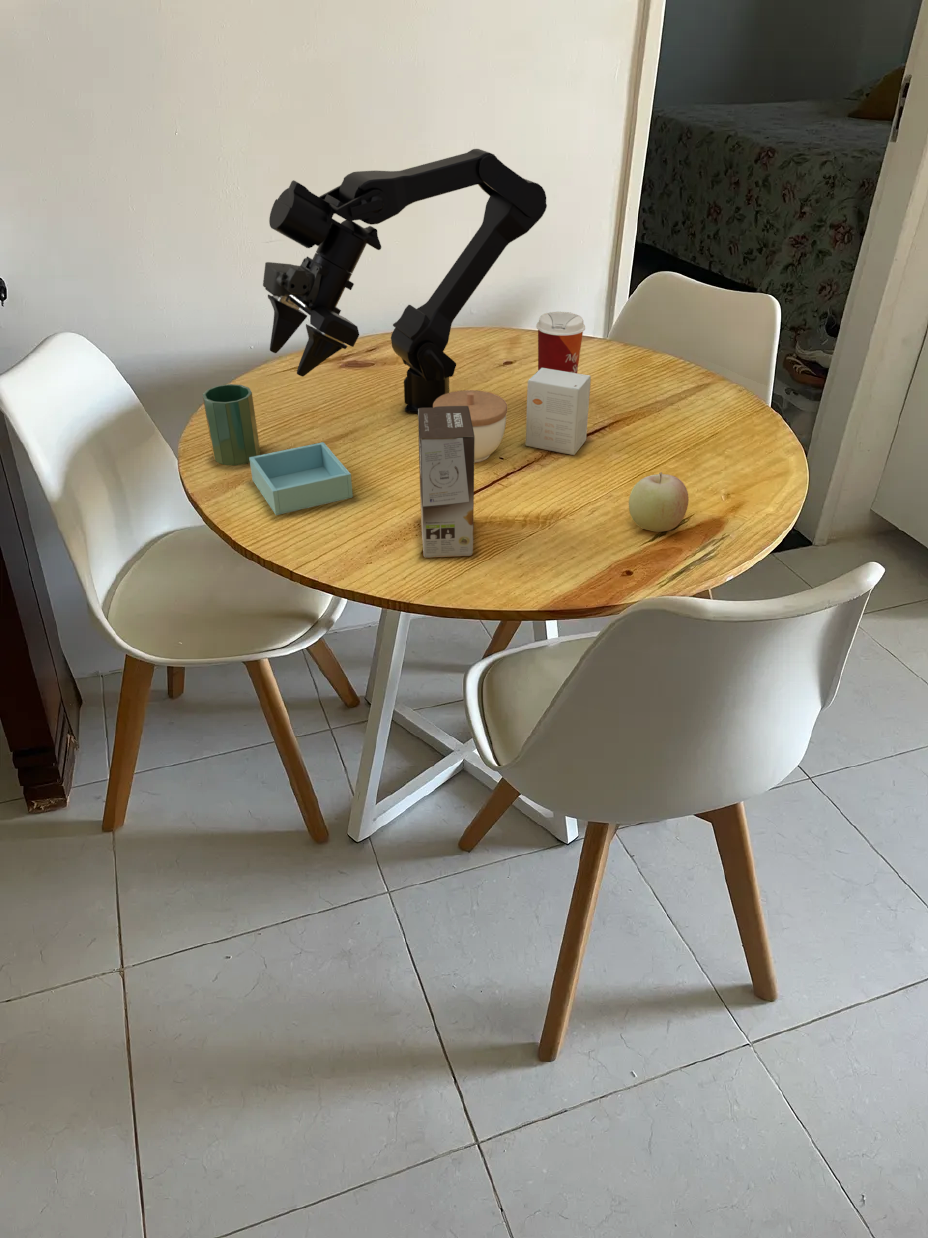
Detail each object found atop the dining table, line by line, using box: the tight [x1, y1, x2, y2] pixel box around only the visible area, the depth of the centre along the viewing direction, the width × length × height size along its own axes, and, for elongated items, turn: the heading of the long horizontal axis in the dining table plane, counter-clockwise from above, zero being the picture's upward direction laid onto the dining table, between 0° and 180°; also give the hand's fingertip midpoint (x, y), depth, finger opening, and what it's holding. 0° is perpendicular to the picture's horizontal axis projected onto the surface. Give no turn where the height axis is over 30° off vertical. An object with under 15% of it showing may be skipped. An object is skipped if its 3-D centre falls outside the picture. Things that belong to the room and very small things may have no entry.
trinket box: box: [433, 389, 508, 464], centre depth 134 cm, size 11×11×9 cm
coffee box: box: [417, 406, 475, 558], centre depth 112 cm, size 9×6×16 cm
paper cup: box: [535, 311, 586, 373], centre depth 147 cm, size 8×8×14 cm
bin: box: [249, 441, 354, 516], centre depth 126 cm, size 11×11×4 cm
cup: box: [202, 383, 261, 467], centre depth 132 cm, size 7×7×10 cm
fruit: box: [628, 471, 689, 533], centre depth 118 cm, size 8×7×8 cm
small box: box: [525, 368, 592, 456], centre depth 136 cm, size 8×6×10 cm
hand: (285, 363), depth 134 cm, fingers open, 9 cm apart
